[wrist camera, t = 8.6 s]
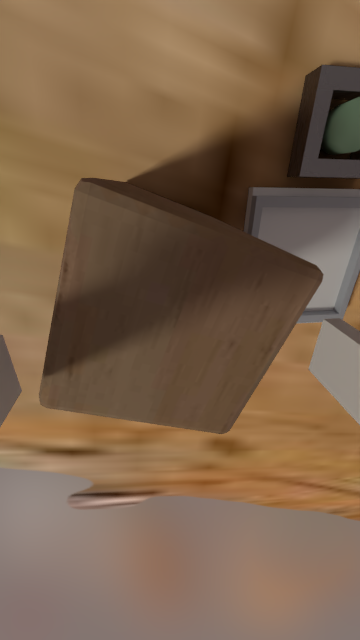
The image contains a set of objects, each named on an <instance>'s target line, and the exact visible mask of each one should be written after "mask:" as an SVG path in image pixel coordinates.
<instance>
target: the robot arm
mask: <svg viewBox="0 0 360 640" xmlns="http://www.w3.org/2000/svg"><path fill="white" fill-rule="evenodd" d="M309 370H310V372H311V373H312V374H313V375H314V376H315V377H316V378H317V379H318V380H319V381H320V382H321V383H322V385H323V386H324V387H325V388H326V389H327V390H328V391H329V392H330V393H331V394H332V395H333V397H334V398H335V399H336V400H337V401H338V402H339V403H340V404H341V405H342V406H343V407H344V408H345V410H346V411H347V412H348V413H349V414H350V415H351V416H352V417H353V418H354V419H355V420H356V422H357V423H358V424H359V425H360V331H358V330H357V329H355V328H354V327H352V326H351V325H349V324H348V323H346V322H345V321H343V320H342V319H340V318H333V319H324V320H323V323H322V326H321V330H320V333H319V336H318V339H317V343H316V346H315V349H314V353H313V356H312V359H311V363H310V366H309ZM21 391H22V390H21V387H20V384H19V381H18V378H17V375H16V373H15V370H14V367H13V364H12V361H11V358H10V355H9V352H8V349H7V346H6V344H5V341H4V338H3V335H0V427H1V425H2V423H3V422H4V420H5V418H6V417H7V415H8V413H9V411H10V410H11V408H12V406H13V405H14V403H15V401H16V400H17V398H18V396H19V395H20V393H21Z"/></svg>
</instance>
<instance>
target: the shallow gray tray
mask: <svg viewBox="0 0 360 640" xmlns="http://www.w3.org/2000/svg"><path fill="white" fill-rule="evenodd" d="M244 232H246V233H248V234H250V235H252V236H254V237H256V238H259V239H261V240H263V241H265V242H267V243H269V244H271V245H274V246H276V247H278V248H280V249H282V250H284V251H287V252H289V253H291V254H293V255H295V256H297V257H300V258H302V259H304V260H306V261H308V262H310V263H313V264H315V265H317V266H318V268H319V269H320V270H321V271H322V273H323V274H324V275H323V280H322V283H321V284H320V286H319V287H318V289H317V291H316V292H315V294H314V295H313V297H312V299H311V300H310V302H309V304H308V305H307V307H306V308H305V310H304V312H303V313H302V315H301V316H300V318H299V320H298V321H297V323H313V322H323V320H324V319H333V318H340V319H343V317H344V314H345V311H346V308H347V305H348V302H349V299H350V297H351V294H352V291H353V288H354V285H355V282H356V279H357V277H358V274H359V271H360V189H321V188H267V187H249V192H248V200H247V208H246V216H245V224H244Z"/></svg>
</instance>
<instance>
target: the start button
mask: <svg viewBox="0 0 360 640" xmlns="http://www.w3.org/2000/svg"><path fill="white" fill-rule="evenodd" d="M321 148H322V149H323V150H324V151H325V152H326V153H327V154H330V155H338V154H344V153H350V152H356V151H358V150H360V97H358V98H355V99H353V100H350V101H348V102H345V103H343V104H340V105H338V106H336V107H334V108H333V109H332V110H330V111H329V112H328V116H327V121H326V125H325V130H324V134H323V139H322V143H321Z"/></svg>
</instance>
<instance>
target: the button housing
mask: <svg viewBox="0 0 360 640" xmlns="http://www.w3.org/2000/svg"><path fill="white" fill-rule="evenodd" d="M358 97H360V68H355V67H343V66H331V65H321V66H320V67H318V68H317V69H315V70H314V71H312V72H311V73H309V74H308V75H306V77H305V83H304V88H303V93H302V99H301V104H300V110H299V115H298V121H297V126H296V132H295V137H294V142H293V148H292V153H291V159H290V164H289V170H288V175H287V177H304V178H346V179H360V150H358V151H356V152H351V154H350V158H349V160H343V159H318V156H319V152H320V147H321V143H322V139H323V134H324V130H325V125H326V121H327V116H328V112H329V108H330V103H331V99H339V100H353V99H355V98H358Z"/></svg>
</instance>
